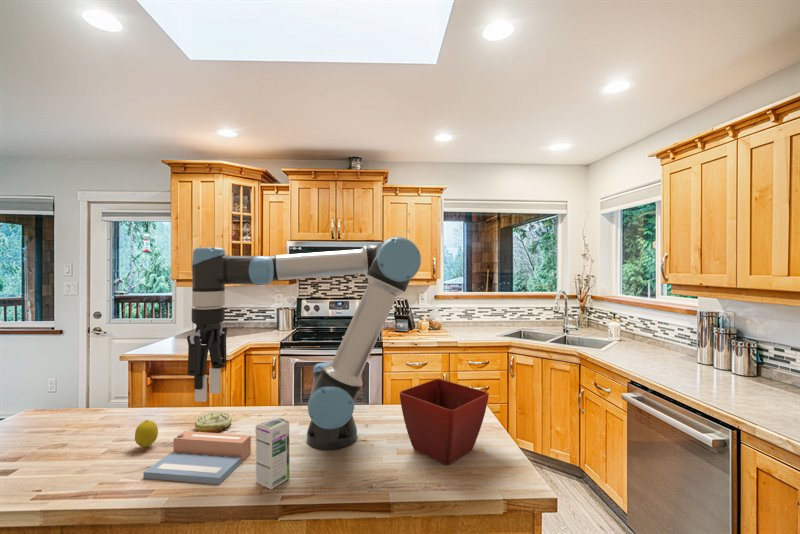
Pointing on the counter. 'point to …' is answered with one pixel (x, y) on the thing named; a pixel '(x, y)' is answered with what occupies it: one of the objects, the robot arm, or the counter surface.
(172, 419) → the counter surface
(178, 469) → the board
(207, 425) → the decorated donut
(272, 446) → the syrup box
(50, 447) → the counter surface
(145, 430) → the lemon
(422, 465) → the counter surface
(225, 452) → the pink rectangular bar
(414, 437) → the plant pot
